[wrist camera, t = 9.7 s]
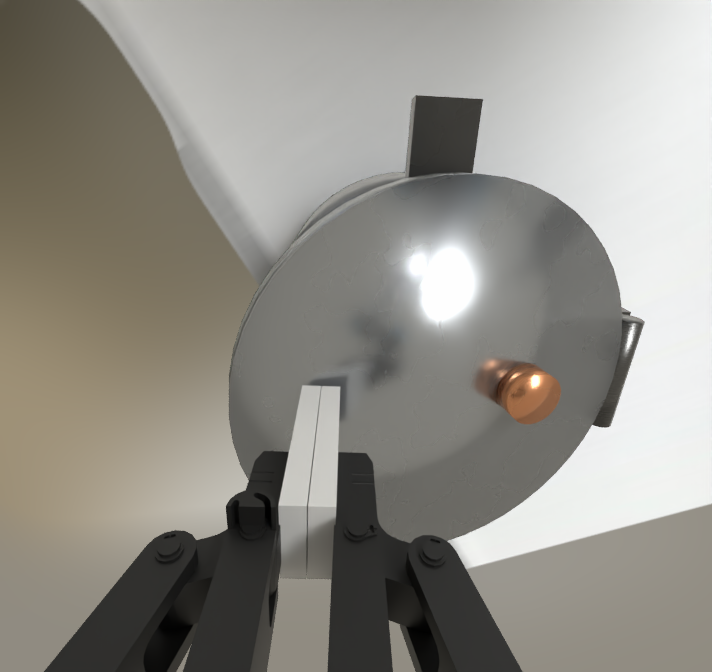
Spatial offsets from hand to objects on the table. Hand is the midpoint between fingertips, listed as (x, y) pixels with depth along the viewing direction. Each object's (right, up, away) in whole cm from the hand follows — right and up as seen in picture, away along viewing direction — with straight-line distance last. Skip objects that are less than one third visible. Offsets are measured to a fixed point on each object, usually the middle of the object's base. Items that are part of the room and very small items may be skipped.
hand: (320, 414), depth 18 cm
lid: (+6, +1, +3) cm, 7 cm away
